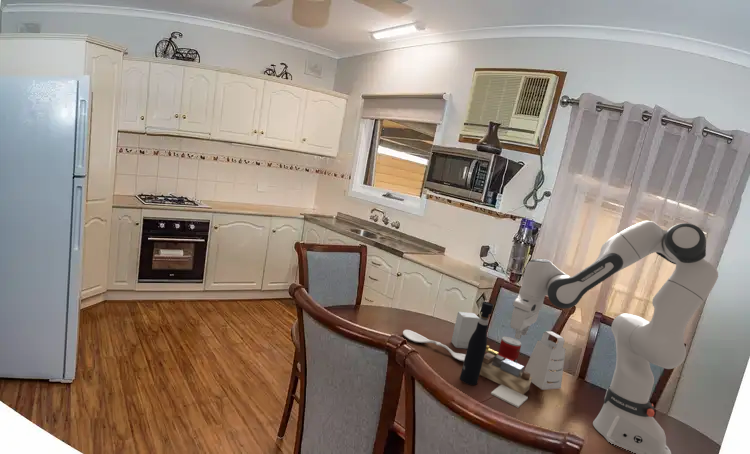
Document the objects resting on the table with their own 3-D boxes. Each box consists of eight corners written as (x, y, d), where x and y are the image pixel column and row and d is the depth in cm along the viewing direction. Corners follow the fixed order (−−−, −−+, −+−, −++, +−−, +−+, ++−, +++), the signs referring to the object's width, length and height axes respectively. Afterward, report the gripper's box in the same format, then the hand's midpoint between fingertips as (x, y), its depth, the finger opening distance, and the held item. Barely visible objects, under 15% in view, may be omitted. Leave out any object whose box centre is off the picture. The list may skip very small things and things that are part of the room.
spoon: (467, 368, 170) (469, 360, 170) (398, 337, 187) (399, 330, 186) (475, 362, 178) (477, 354, 177) (407, 333, 194) (409, 325, 194)
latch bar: (497, 354, 167) (499, 350, 167) (496, 356, 165) (497, 351, 165) (483, 348, 170) (484, 343, 170) (481, 349, 169) (482, 344, 169)
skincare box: (467, 343, 195) (474, 312, 193) (472, 350, 190) (480, 318, 187) (450, 342, 193) (457, 310, 191) (455, 348, 187) (463, 315, 185)
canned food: (516, 371, 176) (522, 346, 175) (496, 366, 178) (502, 341, 176) (513, 363, 184) (520, 339, 182) (494, 358, 185) (501, 334, 183)
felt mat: (527, 398, 155) (528, 397, 155) (518, 407, 147) (518, 406, 147) (501, 385, 161) (501, 384, 161) (490, 393, 153) (491, 392, 153)
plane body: (528, 389, 162) (534, 369, 161) (522, 395, 157) (528, 374, 156) (484, 368, 173) (489, 349, 172) (477, 373, 167) (482, 353, 166)
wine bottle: (480, 382, 160) (500, 305, 156) (471, 386, 155) (491, 307, 151) (465, 374, 164) (484, 299, 160) (456, 378, 160) (475, 301, 155)
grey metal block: (521, 374, 163) (524, 366, 162) (517, 377, 159) (520, 369, 159) (504, 366, 167) (506, 358, 166) (499, 369, 163) (502, 361, 163)
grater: (540, 374, 179) (553, 328, 176) (560, 388, 170) (574, 340, 167) (521, 375, 174) (534, 328, 171) (541, 389, 165) (555, 340, 162)
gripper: (530, 295, 169) (521, 328, 171) (512, 302, 153) (502, 338, 155) (546, 300, 165) (537, 334, 167) (529, 308, 149) (519, 345, 151)
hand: (520, 336), depth 161 cm, fingers open, 5 cm apart
